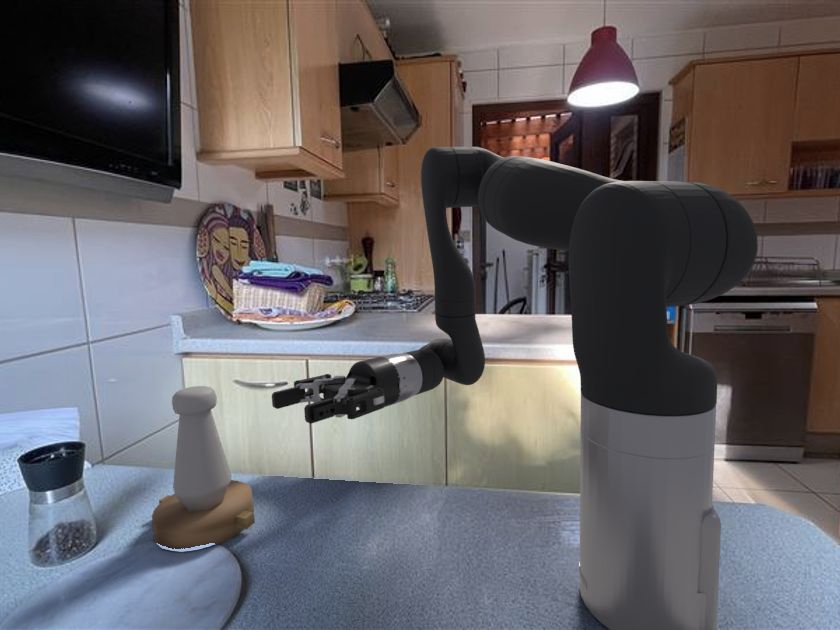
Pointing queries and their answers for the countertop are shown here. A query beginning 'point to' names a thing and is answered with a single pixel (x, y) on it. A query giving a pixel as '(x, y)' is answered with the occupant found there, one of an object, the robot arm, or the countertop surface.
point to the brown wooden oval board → (203, 519)
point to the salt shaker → (199, 451)
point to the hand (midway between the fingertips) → (288, 407)
